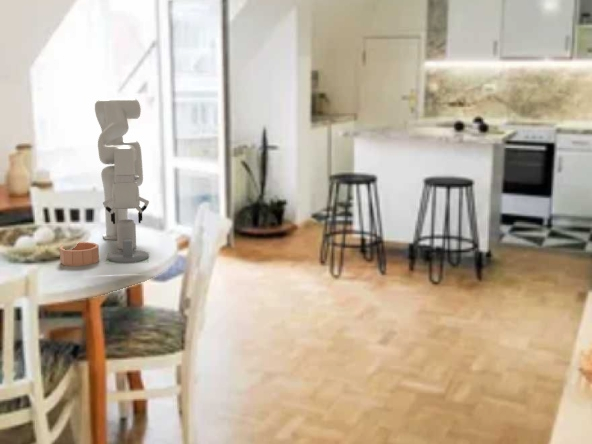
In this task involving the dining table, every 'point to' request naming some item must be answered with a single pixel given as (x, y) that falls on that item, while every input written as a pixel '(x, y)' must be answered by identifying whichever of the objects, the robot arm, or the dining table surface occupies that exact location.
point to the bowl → (80, 254)
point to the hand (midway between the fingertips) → (126, 223)
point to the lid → (127, 254)
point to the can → (126, 232)
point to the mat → (133, 262)
